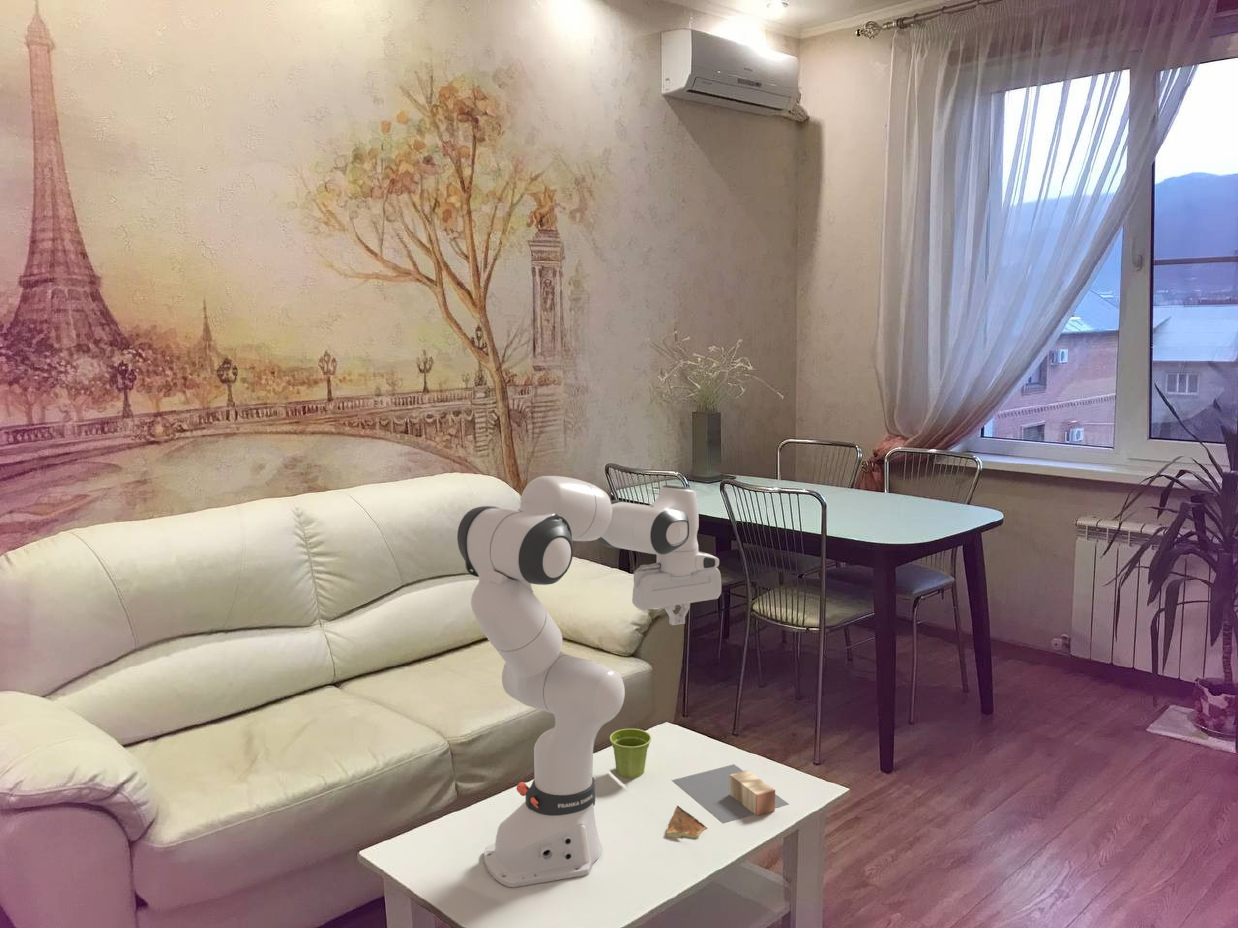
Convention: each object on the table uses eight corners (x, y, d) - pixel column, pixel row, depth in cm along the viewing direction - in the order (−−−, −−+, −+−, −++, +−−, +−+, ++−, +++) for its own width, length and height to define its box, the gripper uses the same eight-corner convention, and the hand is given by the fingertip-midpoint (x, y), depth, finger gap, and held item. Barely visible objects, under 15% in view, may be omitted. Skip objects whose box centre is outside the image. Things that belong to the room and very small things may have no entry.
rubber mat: (723, 825, 190) (722, 823, 190) (671, 782, 208) (671, 780, 208) (789, 806, 197) (789, 803, 197) (734, 766, 215) (734, 764, 215)
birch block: (729, 794, 201) (756, 815, 193) (729, 774, 201) (757, 794, 192) (747, 789, 204) (774, 810, 195) (747, 769, 203) (775, 789, 194)
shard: (677, 811, 197) (677, 803, 196) (713, 817, 194) (713, 809, 194) (664, 838, 186) (665, 830, 186) (702, 844, 184) (703, 836, 184)
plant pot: (659, 770, 214) (659, 734, 213) (637, 787, 206) (637, 750, 205) (624, 760, 219) (623, 725, 218) (601, 776, 211) (601, 740, 210)
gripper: (641, 569, 191) (641, 635, 193) (725, 558, 201) (724, 621, 203) (626, 562, 197) (627, 626, 199) (709, 552, 206) (709, 613, 208)
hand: (677, 623), depth 201 cm, fingers closed
